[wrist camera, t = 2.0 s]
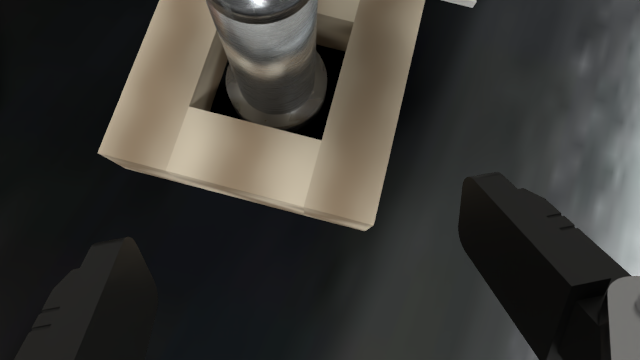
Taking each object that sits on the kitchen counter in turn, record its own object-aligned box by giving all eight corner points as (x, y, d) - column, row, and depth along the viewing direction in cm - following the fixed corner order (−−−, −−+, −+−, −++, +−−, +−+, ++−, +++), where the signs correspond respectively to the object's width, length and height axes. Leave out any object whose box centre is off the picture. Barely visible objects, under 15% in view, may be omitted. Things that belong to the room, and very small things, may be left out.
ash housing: (414, 17, 29) (428, -17, 25) (364, 231, 25) (373, 225, 22) (203, -34, 29) (189, -75, 26) (125, 168, 26) (97, 152, 22)
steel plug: (336, 58, 28) (356, -95, 16) (312, 145, 26) (315, 45, 15) (246, 36, 28) (201, -132, 16) (217, 120, 26) (145, 3, 15)
